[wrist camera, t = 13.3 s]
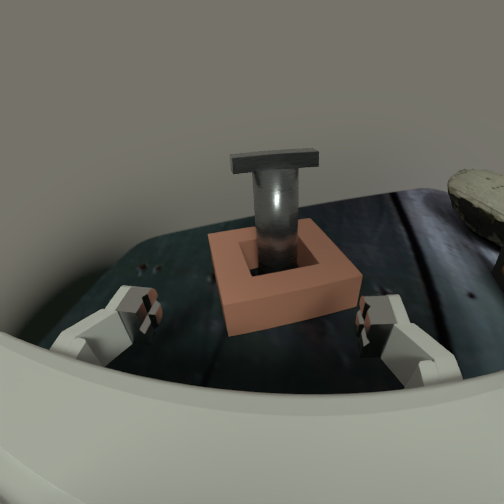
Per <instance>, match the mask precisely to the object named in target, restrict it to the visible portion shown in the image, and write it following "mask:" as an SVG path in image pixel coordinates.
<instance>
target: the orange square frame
mask: <svg viewBox="0 0 504 504" xmlns="http://www.w3.org/2000/svg"><path fill="white" fill-rule="evenodd" d="M208 238H209V244H210V251H211V257H212V263H213V268H214V272H215V277H216V282H217V287H218V291H219V296H220V301H221V305H222V310H223V314H224V319H225V323H226V327H227V332H228V336H229V337H230V336H235V335H240V334H245V333H250V332H255V331H259V330H264V329H269V328H273V327H278V326H282V325H286V324H291V323H295V322H299V321H303V320H307V319H311V318H315V317H319V316H323V315H327V314H331V313H334V312H338V311H342V310H345V309H349V308H353V307H356V306H357V302H358V297H359V292H360V287H361V282H362V277H363V275H362V274H361V273H360V272H359V271H358V269H357V268H356V267H355V266H354V265H353V264H352V263H351V262H350V260H349V259H348V258H347V257H346V256H345V255H344V254H343V253H342V252H341V251H340V249H339V248H338V247H337V246H336V245H335V244H334V243H333V242H332V241H331V240H330V239H329V238H328V236H327V235H326V234H325V233H324V232H323V231H322V230H321V229H320V228H319V227H318V226H317V225H316V224H315V223H314V222H313V221H312V220H311V219H310V218H307V219H301V220H298V248H297V264H298V266H299V267H300V268H296V269H291V270H286V271H280V272H275V273H270V274H265V275H259V276H254V277H252V276H251V274H250V271H249V269H254V268H258V262H257V244H256V227H248V228H242V229H236V230H230V231H224V232H218V233H212V234H208Z"/></svg>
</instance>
